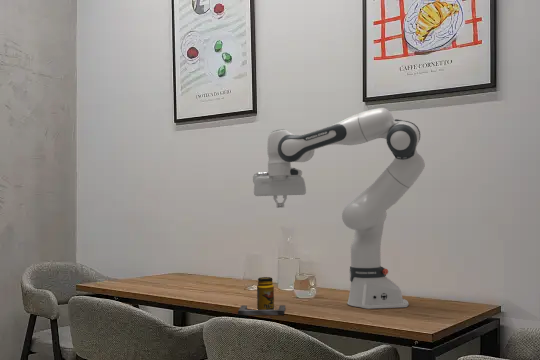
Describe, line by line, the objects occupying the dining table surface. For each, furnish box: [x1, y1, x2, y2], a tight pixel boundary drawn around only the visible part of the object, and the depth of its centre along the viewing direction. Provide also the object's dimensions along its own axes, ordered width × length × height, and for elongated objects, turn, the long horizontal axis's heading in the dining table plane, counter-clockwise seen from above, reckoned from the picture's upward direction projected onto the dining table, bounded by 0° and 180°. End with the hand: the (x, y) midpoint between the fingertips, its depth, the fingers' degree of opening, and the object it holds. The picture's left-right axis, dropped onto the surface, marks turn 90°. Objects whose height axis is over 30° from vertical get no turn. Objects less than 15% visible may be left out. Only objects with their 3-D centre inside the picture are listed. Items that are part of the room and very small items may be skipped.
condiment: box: [256, 276, 275, 310], centre depth 225 cm, size 7×8×12 cm
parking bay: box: [237, 304, 286, 316], centre depth 222 cm, size 16×10×2 cm, turn 85°
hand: (280, 207), depth 241 cm, fingers closed
